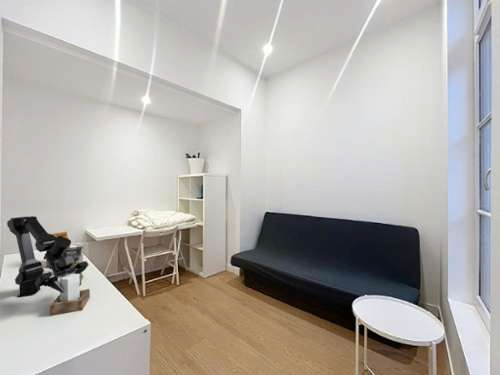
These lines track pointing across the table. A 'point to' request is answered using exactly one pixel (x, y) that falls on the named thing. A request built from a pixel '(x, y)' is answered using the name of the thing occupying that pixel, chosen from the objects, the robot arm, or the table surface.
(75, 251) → the coffee box
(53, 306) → the walnut socket block
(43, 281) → the robot arm
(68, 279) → the skincare box
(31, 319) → the table surface
